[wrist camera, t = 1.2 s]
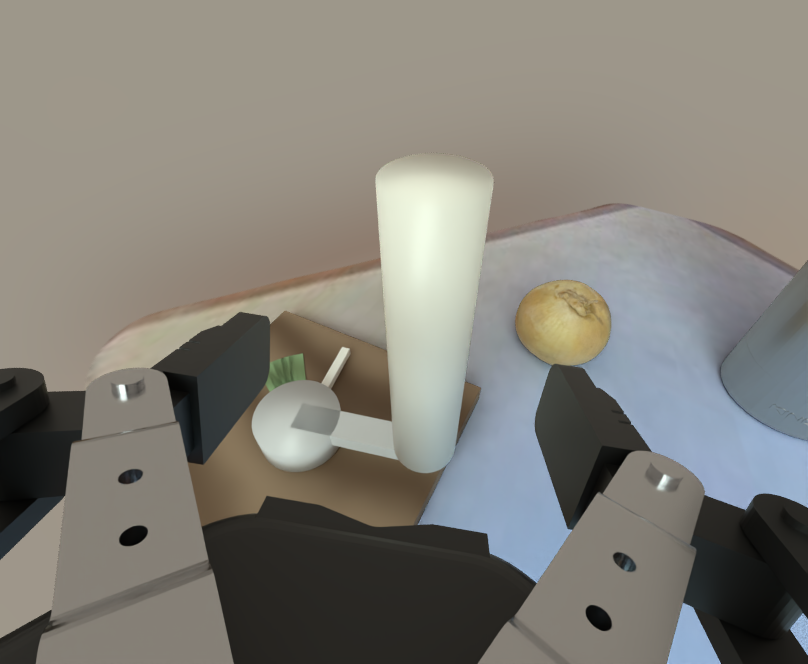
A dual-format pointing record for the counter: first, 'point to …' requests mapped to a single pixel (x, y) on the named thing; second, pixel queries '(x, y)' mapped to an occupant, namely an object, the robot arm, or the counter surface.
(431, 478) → the brown flat square piece
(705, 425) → the counter surface
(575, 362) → the onion
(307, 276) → the counter surface
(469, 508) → the counter surface
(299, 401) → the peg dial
